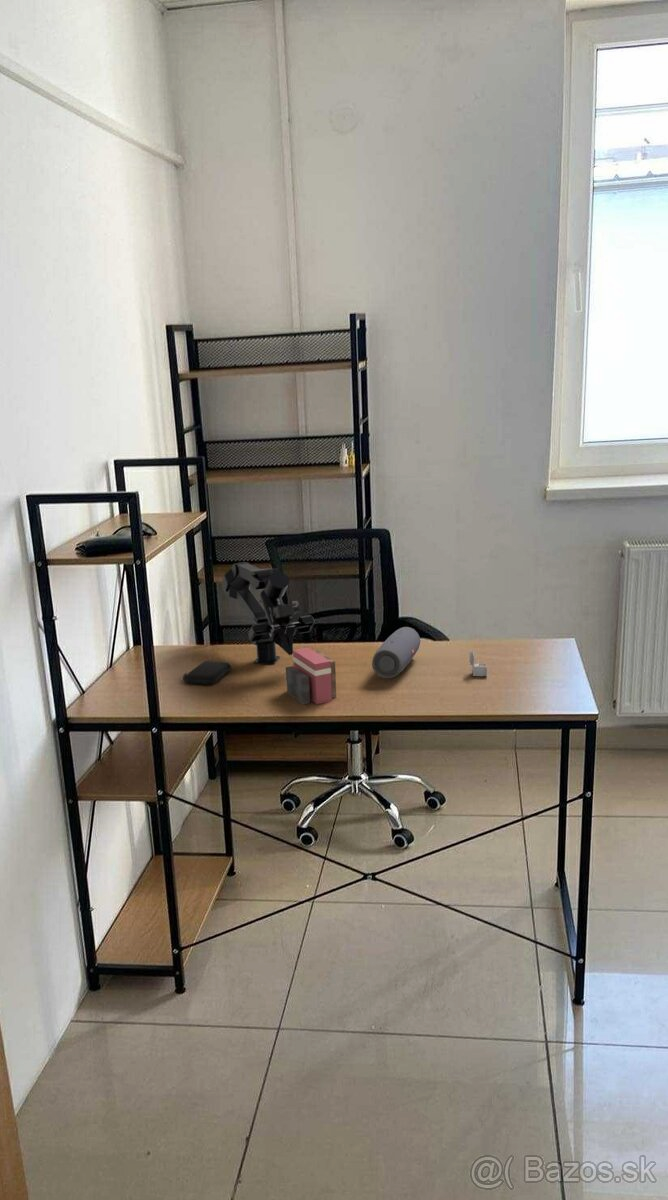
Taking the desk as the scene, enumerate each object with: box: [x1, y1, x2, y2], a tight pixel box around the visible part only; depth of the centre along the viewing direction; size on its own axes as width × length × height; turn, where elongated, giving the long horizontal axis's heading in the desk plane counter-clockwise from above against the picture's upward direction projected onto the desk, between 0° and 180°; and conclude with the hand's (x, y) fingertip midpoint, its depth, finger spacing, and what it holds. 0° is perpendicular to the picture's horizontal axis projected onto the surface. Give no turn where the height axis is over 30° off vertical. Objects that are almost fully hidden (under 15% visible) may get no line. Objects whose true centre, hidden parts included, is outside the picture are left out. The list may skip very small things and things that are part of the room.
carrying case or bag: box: [182, 660, 232, 687], centre depth 258 cm, size 11×3×15 cm
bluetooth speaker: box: [371, 626, 421, 679], centre depth 257 cm, size 23×9×10 cm, turn 161°
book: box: [292, 647, 333, 705], centre depth 240 cm, size 14×4×11 cm, turn 26°
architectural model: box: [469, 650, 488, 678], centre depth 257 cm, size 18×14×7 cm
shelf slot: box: [285, 650, 337, 705], centre depth 240 cm, size 10×10×10 cm
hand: (291, 654), depth 251 cm, fingers closed
